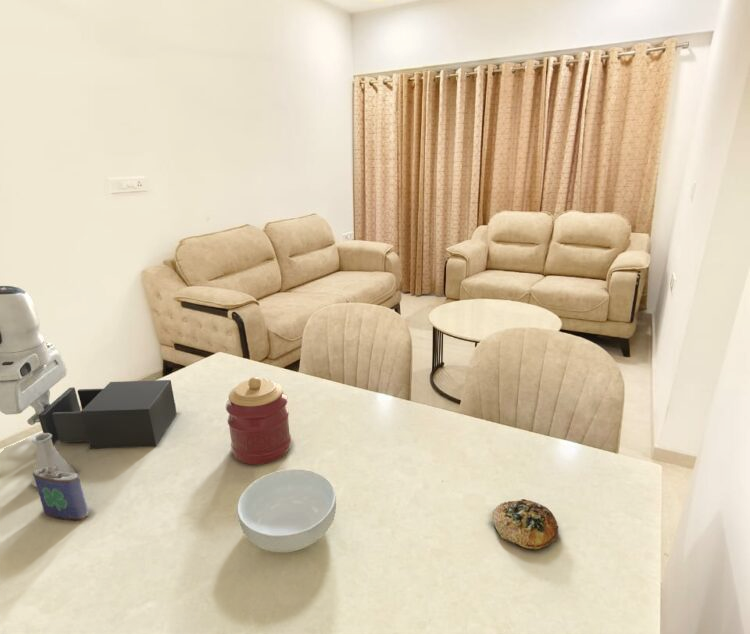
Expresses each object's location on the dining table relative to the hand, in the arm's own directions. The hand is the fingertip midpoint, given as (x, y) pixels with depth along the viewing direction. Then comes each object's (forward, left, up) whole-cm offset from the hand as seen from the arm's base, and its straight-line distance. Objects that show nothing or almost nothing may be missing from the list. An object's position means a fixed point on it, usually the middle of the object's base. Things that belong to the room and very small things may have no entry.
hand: (43, 411), depth 116 cm
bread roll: (+101, -38, -6) cm, 109 cm away
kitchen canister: (+51, -10, -6) cm, 53 cm away
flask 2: (+18, -29, -6) cm, 35 cm away
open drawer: (+7, 0, -5) cm, 9 cm away
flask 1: (+10, -18, -6) cm, 22 cm away
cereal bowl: (+61, -36, -6) cm, 71 cm away
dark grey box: (+20, 0, -6) cm, 21 cm away
